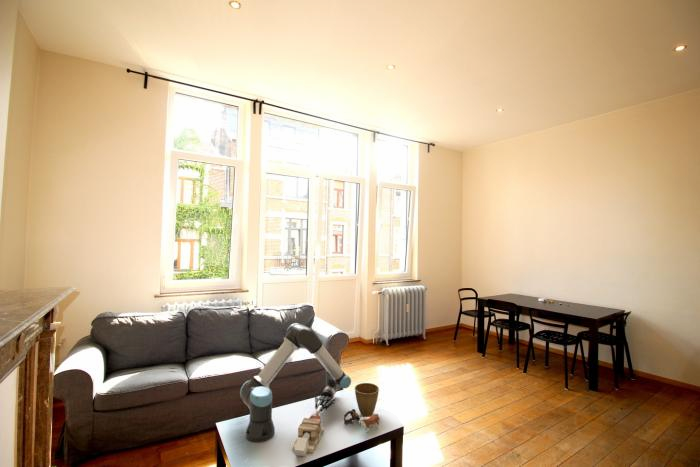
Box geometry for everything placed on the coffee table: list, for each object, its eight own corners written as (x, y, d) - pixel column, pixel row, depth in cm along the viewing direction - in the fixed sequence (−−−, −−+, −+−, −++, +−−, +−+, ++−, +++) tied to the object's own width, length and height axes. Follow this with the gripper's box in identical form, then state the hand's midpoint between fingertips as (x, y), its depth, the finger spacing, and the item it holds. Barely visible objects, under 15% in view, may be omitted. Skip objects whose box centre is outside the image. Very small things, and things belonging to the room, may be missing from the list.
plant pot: (351, 410, 209) (351, 384, 210) (373, 406, 214) (373, 381, 214) (359, 422, 195) (359, 394, 196) (382, 418, 200) (382, 391, 200)
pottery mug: (362, 429, 189) (355, 418, 187) (347, 435, 190) (341, 424, 189) (362, 413, 201) (356, 402, 199) (348, 419, 202) (342, 408, 200)
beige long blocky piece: (313, 453, 166) (313, 436, 166) (292, 450, 168) (292, 433, 168) (323, 431, 186) (323, 416, 186) (304, 428, 188) (305, 414, 188)
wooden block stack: (310, 448, 168) (310, 434, 169) (297, 446, 170) (297, 432, 170) (321, 427, 188) (321, 414, 188) (309, 426, 189) (309, 413, 189)
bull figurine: (357, 431, 186) (357, 416, 186) (376, 424, 193) (376, 410, 193) (361, 435, 182) (362, 420, 182) (381, 428, 189) (381, 413, 190)
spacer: (305, 456, 163) (304, 451, 161) (295, 455, 164) (294, 449, 162) (308, 443, 168) (307, 438, 166) (299, 442, 169) (297, 437, 167)
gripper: (337, 401, 214) (328, 421, 190) (318, 399, 216) (306, 418, 193) (337, 390, 214) (328, 407, 191) (318, 388, 216) (306, 405, 193)
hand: (317, 413), depth 192 cm, fingers closed
